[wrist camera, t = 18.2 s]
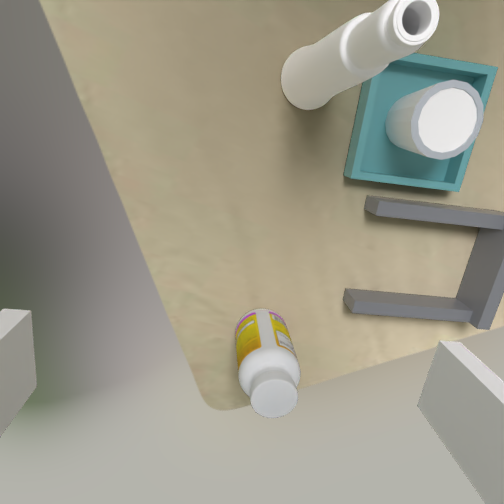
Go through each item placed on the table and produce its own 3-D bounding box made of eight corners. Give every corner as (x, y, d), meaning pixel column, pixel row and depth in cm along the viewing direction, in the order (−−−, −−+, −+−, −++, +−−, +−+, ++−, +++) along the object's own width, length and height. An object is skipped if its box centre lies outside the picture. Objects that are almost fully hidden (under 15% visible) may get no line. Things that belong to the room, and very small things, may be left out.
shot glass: (366, 122, 39) (396, 121, 32) (416, 72, 37) (457, 61, 31) (404, 167, 41) (439, 175, 34) (453, 121, 39) (499, 120, 33)
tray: (368, 52, 37) (378, 46, 34) (481, 70, 38) (497, 67, 36) (343, 175, 41) (350, 178, 38) (445, 188, 42) (458, 191, 40)
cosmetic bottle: (338, 106, 38) (473, 82, 18) (282, 112, 38) (353, 95, 17) (337, 43, 36) (487, -69, 16) (278, 48, 36) (352, -56, 15)
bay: (342, 299, 46) (356, 319, 41) (367, 195, 42) (385, 203, 37) (463, 309, 48) (489, 329, 43) (498, 210, 44) (531, 220, 39)
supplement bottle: (233, 350, 47) (237, 426, 35) (236, 305, 45) (241, 370, 33) (283, 351, 48) (303, 426, 36) (288, 307, 46) (312, 371, 34)
